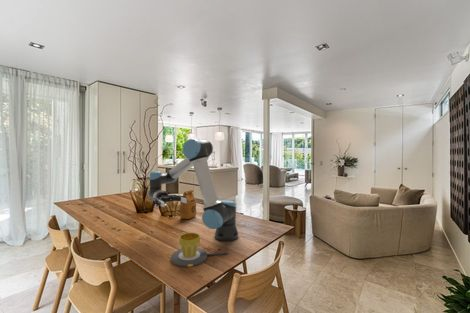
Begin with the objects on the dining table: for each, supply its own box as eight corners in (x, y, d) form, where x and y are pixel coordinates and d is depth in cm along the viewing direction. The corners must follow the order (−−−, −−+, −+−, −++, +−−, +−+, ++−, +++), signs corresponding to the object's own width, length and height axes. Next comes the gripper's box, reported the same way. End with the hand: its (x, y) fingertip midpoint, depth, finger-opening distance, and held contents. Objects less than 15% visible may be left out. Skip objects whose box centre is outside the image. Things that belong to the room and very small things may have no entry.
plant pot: (184, 261, 110) (184, 241, 110) (175, 253, 119) (176, 235, 118) (203, 255, 116) (203, 237, 116) (194, 248, 125) (194, 231, 124)
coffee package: (198, 216, 188) (198, 190, 187) (188, 220, 177) (188, 192, 176) (188, 214, 192) (188, 188, 191) (178, 218, 181) (178, 191, 181)
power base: (224, 246, 131) (224, 244, 131) (232, 262, 113) (232, 259, 113) (171, 251, 124) (171, 249, 124) (170, 269, 106) (170, 266, 106)
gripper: (179, 200, 153) (195, 205, 137) (141, 206, 138) (153, 213, 121) (179, 188, 153) (194, 193, 137) (140, 193, 137) (153, 199, 121)
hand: (175, 202), depth 129 cm, fingers open, 13 cm apart
